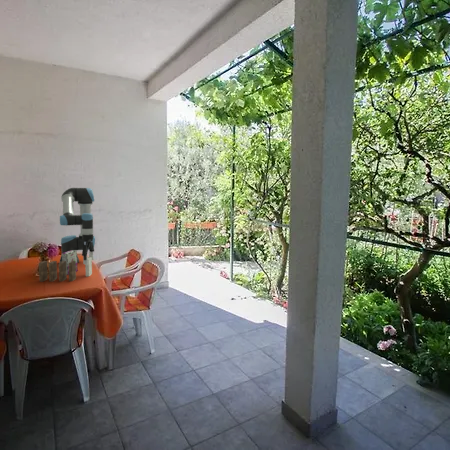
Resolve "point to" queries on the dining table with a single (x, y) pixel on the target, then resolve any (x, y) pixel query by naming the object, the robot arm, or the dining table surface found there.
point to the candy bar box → (69, 259)
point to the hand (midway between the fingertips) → (88, 262)
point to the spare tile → (89, 267)
